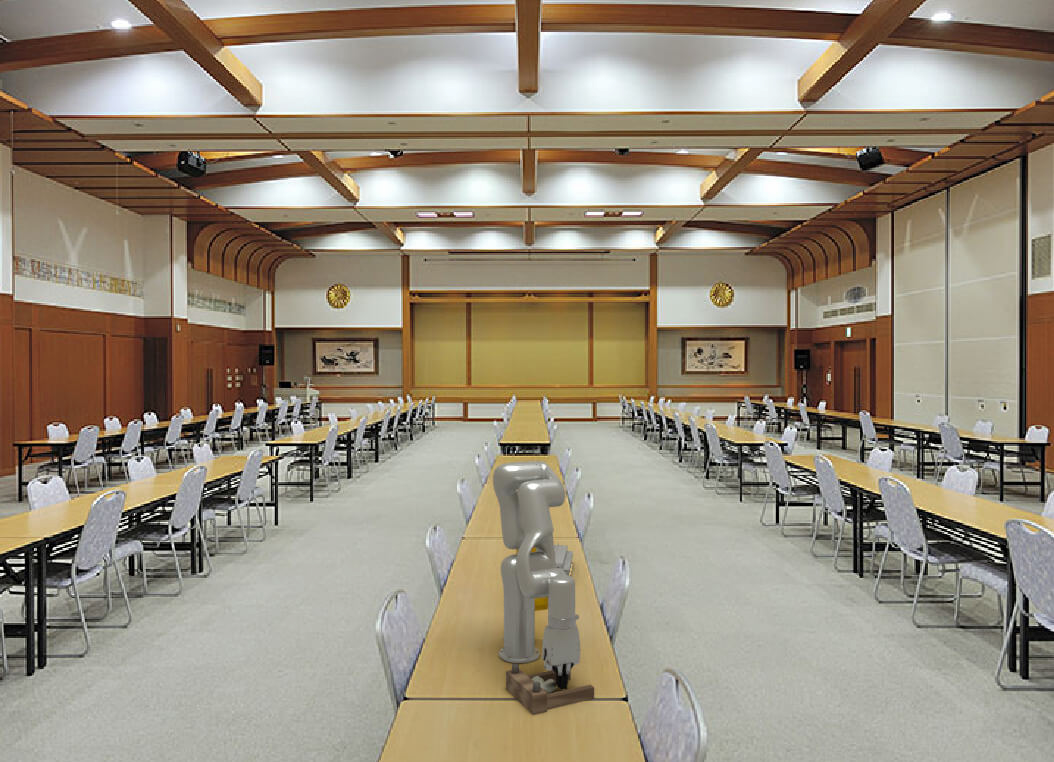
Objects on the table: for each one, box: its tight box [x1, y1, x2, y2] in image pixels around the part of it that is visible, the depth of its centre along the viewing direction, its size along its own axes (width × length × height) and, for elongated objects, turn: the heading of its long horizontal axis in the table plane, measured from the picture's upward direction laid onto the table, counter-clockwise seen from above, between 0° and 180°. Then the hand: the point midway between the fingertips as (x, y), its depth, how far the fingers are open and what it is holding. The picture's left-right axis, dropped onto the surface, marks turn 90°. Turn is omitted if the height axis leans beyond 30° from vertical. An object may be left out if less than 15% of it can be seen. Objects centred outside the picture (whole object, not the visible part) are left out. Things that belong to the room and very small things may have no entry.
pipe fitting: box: [532, 676, 557, 694], centre depth 202 cm, size 8×4×7 cm
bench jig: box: [505, 663, 595, 716], centre depth 202 cm, size 17×19×7 cm
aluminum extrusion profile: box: [554, 542, 574, 577], centre depth 319 cm, size 14×31×10 cm, turn 173°
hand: (562, 687), depth 203 cm, fingers closed
